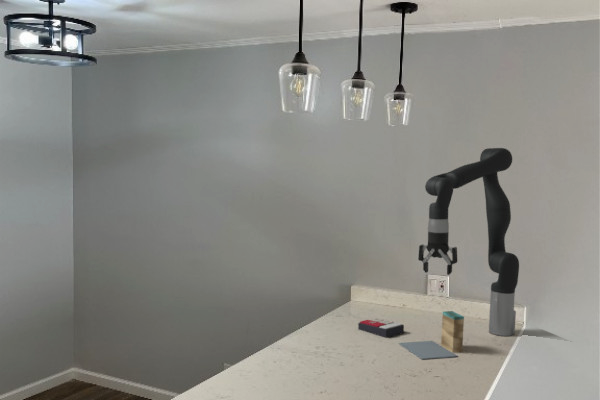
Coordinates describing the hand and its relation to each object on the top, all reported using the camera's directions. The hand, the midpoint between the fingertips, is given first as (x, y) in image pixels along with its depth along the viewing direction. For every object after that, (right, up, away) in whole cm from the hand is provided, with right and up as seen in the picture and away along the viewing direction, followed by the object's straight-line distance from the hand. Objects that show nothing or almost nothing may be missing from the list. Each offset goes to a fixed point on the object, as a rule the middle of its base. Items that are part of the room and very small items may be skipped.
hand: (437, 273), depth 225 cm
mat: (-5, -27, -7) cm, 29 cm away
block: (+4, -27, -4) cm, 28 cm away
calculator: (-19, -26, +16) cm, 36 cm away
